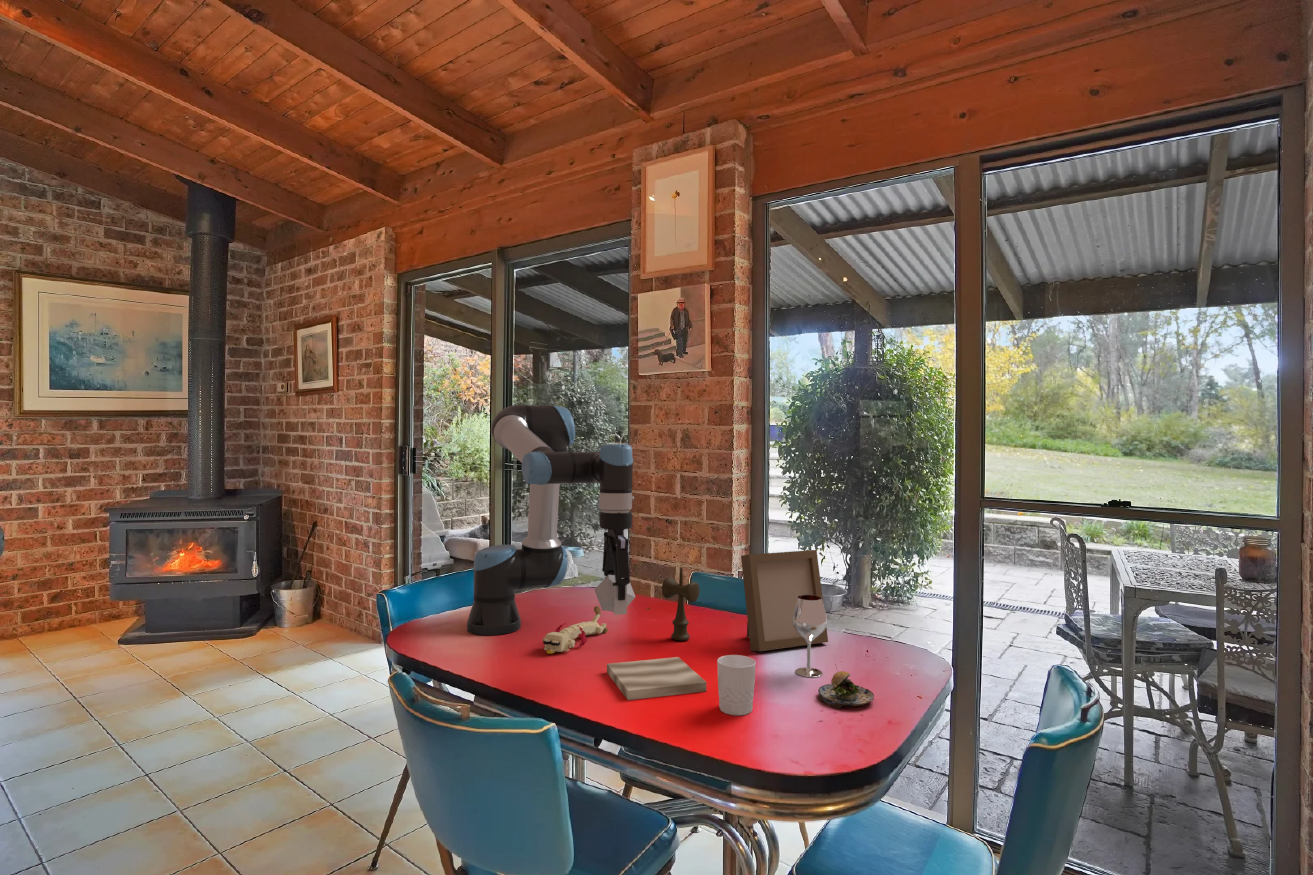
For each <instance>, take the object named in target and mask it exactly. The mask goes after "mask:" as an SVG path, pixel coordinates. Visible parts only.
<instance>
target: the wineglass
mask: <svg viewBox="0 0 1313 875" xmlns="http://www.w3.org/2000/svg"><path fill="white" fill-rule="evenodd" d="M792 624H793V626H794V628H795V630H796V631H797V632H798V633H799V634H800V635H801V636H802V637H803V638H804V639H805V640H806V642H807V645H806V646H807V647H806V648H807V649H806V650H807V654H806V667H799V668H796V669H795V671H794V672H795V674H796V675H797V676H800V677H804V678H820V677H822V676H823V674H824V673H823V671H822V670H820V669H817V668H813V667H811V660H812V658H811V656H812V655H811V650H812V648H811V647H812V646H811V645H812V644H811V642H812V641H813V640H814V639H815V638H816V637H817V636H819V635H820V634H821V633H822V632H823V631H824V630H825V628H827V624H828V618H827V612H826V609H825V606H824V599H823V600H822V598H821V597H819V596H815V595H800V596H798V597H797V600H796V603H795V607H794V611H793V615H792Z"/></svg>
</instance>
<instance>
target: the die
mask: <svg viewBox="0 0 1313 875" xmlns="http://www.w3.org/2000/svg"><path fill="white" fill-rule="evenodd" d="M605 577H606V576H605ZM605 577H604V578H603V580H602V581H601V582H600V583H599V584H598V585H597V586H596V588H594V592H595V595H596V598H597V600H598V603H599V605H600V606H599V607H600V609H601V611H606V612H613V613H614V586H613V583H614V582H616V581H615V575H608V576H607V577H606V578H605ZM621 579H624V578H621ZM635 594H636V593H635V592H634V589H633V587H632V585H631V582H630V583H629V584H627V607H628V606H629V605H630V604H631V603H632V602H633V601H634V600H635V599H636V595H635Z"/></svg>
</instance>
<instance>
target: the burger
mask: <svg viewBox="0 0 1313 875" xmlns="http://www.w3.org/2000/svg"><path fill="white" fill-rule="evenodd" d="M834 665H835V668H836V670H837V672H836V673H834V674H833V676H832V678H831V681H830V682H831V683H828V684H823V685H821V686H820V687H819V688H818V695H817V699H818V701H819V702H820V703H821V704H823V705H825V706H826V707H827V706H828V707H830V708H834V709H835V710H836V709H837V710H841V709H842V707H843V706H849V707H850V706H851V707H858V706H863V705H866V704H868V703H870V702H871V701H873V700H875V694H874V692H872V690H870V689H869V688H864V687H862V686H859V685H857V684H855V683H854V682H853V681H852V680H851V679H849V677H850V676H851V673H849V672H847V671H844V670H843V671H842V670H841V671H840V670H839V671H838V668H837V665H836V663H834Z"/></svg>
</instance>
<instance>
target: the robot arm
mask: <svg viewBox="0 0 1313 875" xmlns="http://www.w3.org/2000/svg"><path fill="white" fill-rule="evenodd" d="M490 433H491V436H492V438H493V440H494V442H496V444H497V445H498V446H499V447H501V448H502V449H503V448H504V449H506V450H508V451H509V452H511V453H512V455H513V456H514V457H516V459H517V460H518V461H519V462H520V463H521V475H522V476H523V480H524V482H525V483H526V484H529V499H528V515H527V516H528V519H527V520H528V522H527V536H526V537H525V538H524V539H522V541H521V548H518V549H517V548H516V546H515V544H514V545H513V544H496V545H491V546H486V547H483V548H481V549H480V550H478V551H477V552H475V555H474V556H473V557H474V558H473V559H474V560H473V567H472V569H473V602H472V607H471V608H470V612H469V615H468V617H467V620H466V631H468V633H470V634H474V635H478V636H479V635H481V636H497V635H499V636H500V635H506V634H511V633H514V632H517V631H518V630H521V624H522V620H521V619H522V618H521V615H520V613H519V609H518V607H517V603H516V591H517V590H528V589H537V588H544V589H545V588H550V587H555V586H558V585H560V584H561V583H562V582H563V581H564V579H565V577H566V575H567V570H568V565H569V564H568V562H569V560H568V553H567V552H568V551H567V550H566V548H565V547H564V546H562V541H561V540H560V539H559V538H558V537H557V536H558V522H559V520H558V519H559V518H558V517H559V501H560V500H559V499H560V485H563V484H565V485H567V484H568V485H569V484H599V495H598V496H599V497H598V498H599V502H598V503H599V504H598V505H599V506H598V508H599V510H601V511H600V513H599V517H598V518H599V520H598V521H599V528H600V529H602V530H607V531H604V532H603V554H602V555H603V556H602V569H601V570H602V572H603V575H604V579H605V578H606V577H607V576H608V575H615V581H616V582H614V583H613V586H614V612H613V615H614V616H617V615H618V616H619V615H620V616H621V615H627V611H628V606H627V584H629V583H630V584H631V578H630V563H629V562H630V561H629V538H626V536H625V533H624V531H625V530H629V529H631V528H632V527H633V512H631V511H630V510H632V509H633V501H634V500H635V496H633V470H634V469H633V468H634V458H633V447H632V445H631V444H628V443H627V444H623V443H622V444H620V443H619V444H618V443H615V444H614V443H611V444H609V443H607V444H606V443H605V444H604V443H603V444H602V445H600V448H599V450H598V451H597V450H596V451H595V450H594V451H593V450H592V451H568V450H567V448H568V447H570V446H572V445H573V444H574V441H575V438H576V428H575V421H574V418H573V415H572V414H571V412H570V410H569V409H568V408H567V407H564V406H560V405H554V404H553V405H550V404H549V405H547V404H546V405H540V404H539V405H538V404H537V405H536V404H533V405H531V404H514V405H513V404H512V405H510V406H507V407H505V408H503V409H501V410H500V411H499V412H497V413H496V415H495V416H494V418H493V419H492V421H491V425H490ZM621 578H624V579H621Z"/></svg>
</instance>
